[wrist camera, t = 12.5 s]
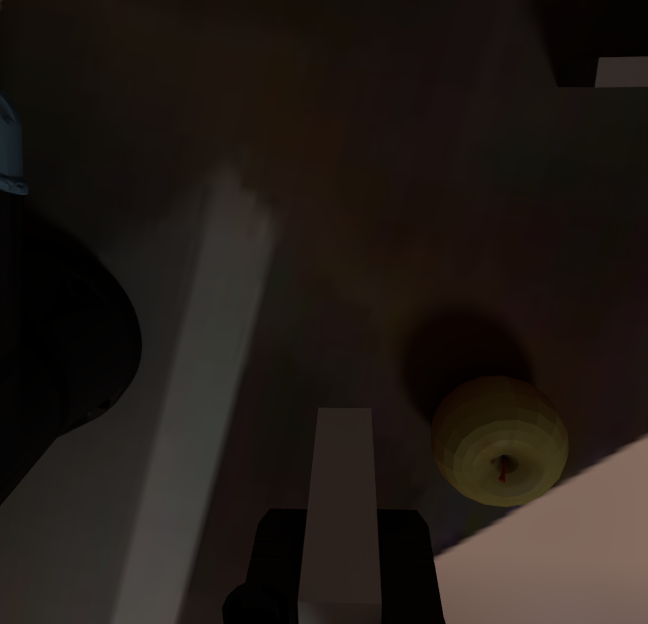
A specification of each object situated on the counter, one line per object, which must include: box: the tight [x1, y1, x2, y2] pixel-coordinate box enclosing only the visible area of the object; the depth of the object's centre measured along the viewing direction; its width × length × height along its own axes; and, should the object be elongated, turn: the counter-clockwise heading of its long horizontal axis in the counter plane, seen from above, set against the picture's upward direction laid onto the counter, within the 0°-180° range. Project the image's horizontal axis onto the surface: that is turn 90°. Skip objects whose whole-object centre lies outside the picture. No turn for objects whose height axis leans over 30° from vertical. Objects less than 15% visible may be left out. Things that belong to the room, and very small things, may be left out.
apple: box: [431, 375, 569, 507], centre depth 42 cm, size 10×10×8 cm
